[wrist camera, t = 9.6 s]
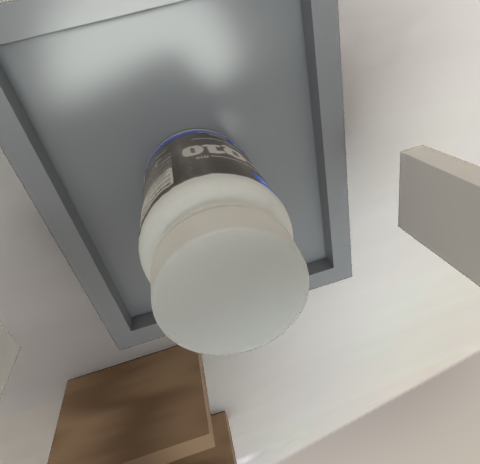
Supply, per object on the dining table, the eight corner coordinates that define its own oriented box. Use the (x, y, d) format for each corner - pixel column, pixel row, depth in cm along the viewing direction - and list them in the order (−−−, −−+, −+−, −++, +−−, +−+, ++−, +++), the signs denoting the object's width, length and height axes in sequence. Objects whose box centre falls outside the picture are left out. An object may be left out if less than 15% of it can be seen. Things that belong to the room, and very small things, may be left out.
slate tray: (122, 323, 20) (119, 350, 18) (-42, 22, 12) (-74, 20, 10) (335, 256, 21) (352, 276, 19) (310, -60, 13) (333, -74, 12)
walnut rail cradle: (124, 455, 26) (116, 560, 21) (67, 380, 21) (40, 491, 16) (228, 420, 26) (246, 512, 21) (195, 339, 22) (209, 433, 17)
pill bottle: (267, 155, 16) (362, 253, 9) (220, 239, 17) (267, 380, 10) (169, 105, 14) (187, 179, 7) (127, 205, 16) (104, 349, 8)
